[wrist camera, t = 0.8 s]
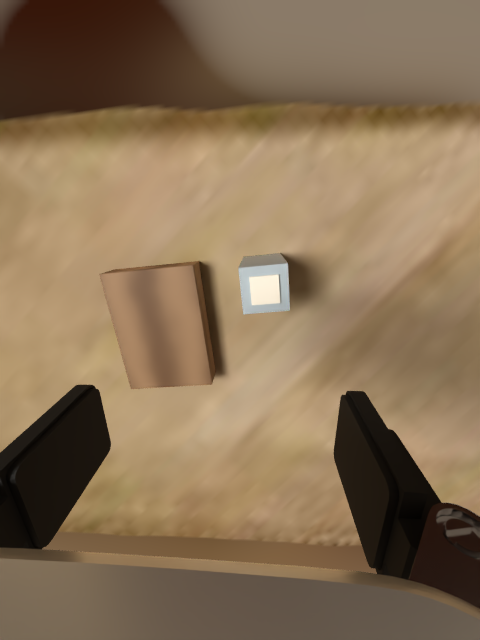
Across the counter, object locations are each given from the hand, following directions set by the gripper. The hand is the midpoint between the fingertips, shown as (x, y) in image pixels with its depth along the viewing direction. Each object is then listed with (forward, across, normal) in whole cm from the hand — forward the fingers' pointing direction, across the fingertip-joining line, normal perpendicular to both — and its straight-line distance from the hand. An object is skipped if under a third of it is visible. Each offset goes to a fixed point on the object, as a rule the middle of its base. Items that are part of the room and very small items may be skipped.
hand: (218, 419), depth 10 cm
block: (+22, -2, -2) cm, 22 cm away
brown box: (+22, +9, +4) cm, 24 cm away
